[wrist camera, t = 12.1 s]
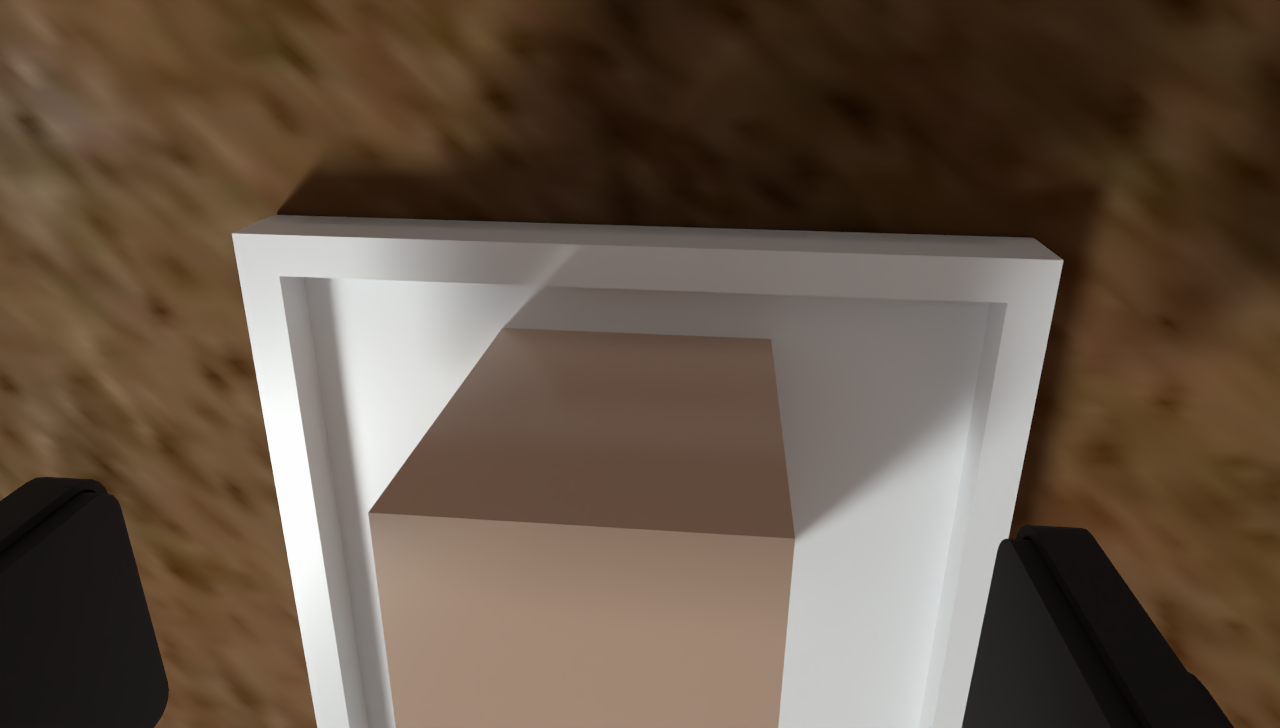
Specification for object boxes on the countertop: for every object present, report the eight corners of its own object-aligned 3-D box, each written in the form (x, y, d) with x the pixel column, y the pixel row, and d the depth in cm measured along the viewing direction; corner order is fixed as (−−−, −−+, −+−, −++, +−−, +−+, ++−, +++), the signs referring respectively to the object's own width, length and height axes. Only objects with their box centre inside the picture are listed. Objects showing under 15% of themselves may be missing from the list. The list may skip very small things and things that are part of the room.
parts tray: (1033, 237, 12) (1063, 259, 11) (909, 916, 18) (921, 977, 16) (273, 214, 13) (232, 233, 12) (373, 864, 18) (350, 918, 17)
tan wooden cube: (771, 338, 13) (795, 538, 8) (754, 568, 14) (766, 853, 9) (502, 328, 13) (367, 512, 8) (514, 553, 14) (407, 820, 10)
